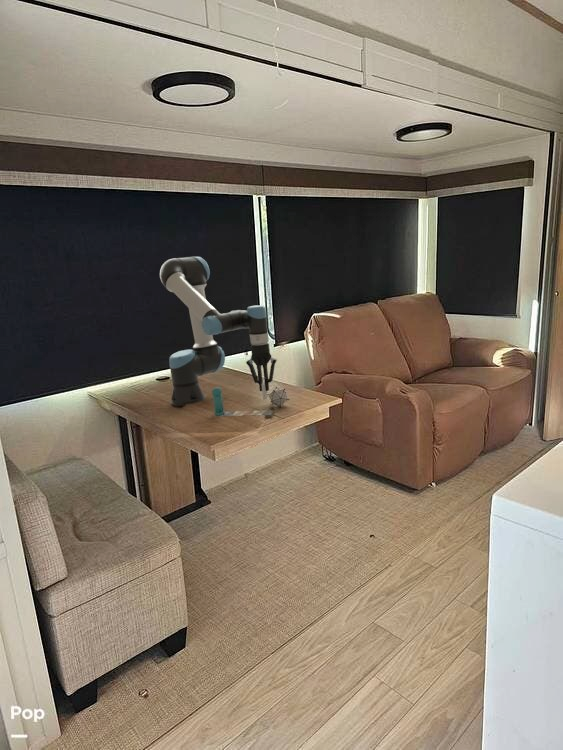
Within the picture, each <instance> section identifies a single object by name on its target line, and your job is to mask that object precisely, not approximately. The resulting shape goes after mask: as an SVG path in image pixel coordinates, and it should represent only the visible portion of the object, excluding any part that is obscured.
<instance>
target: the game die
mask: <svg viewBox="0 0 563 750" xmlns="http://www.w3.org/2000/svg"><path fill="white" fill-rule="evenodd" d="M267 396H268V397H269V399H270V403H272V404H271V407H272V406H277V407H279V409H282V406H283V405H284V404H285V403H286V402H287V401H290V399H289V398H288V396H287V392H286V388H283V389H282V388H279V387H277V386H275V389H273V390H272V392H271V393H269V394H268V393H267Z"/></svg>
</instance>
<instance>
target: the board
mask: <svg viewBox="0 0 563 750" xmlns="http://www.w3.org/2000/svg"><path fill="white" fill-rule="evenodd" d="M274 413H275V411H274V409H268V410H265V409H264V410H238V411H235V410H234V411H225V414H224V415H221V416H215V414H214V415H213V417H217V418H218V417H240V416H243V417H244V416H249V417H250V416H265V417H264V419H272V417H273V416H274ZM272 415H273V416H272Z"/></svg>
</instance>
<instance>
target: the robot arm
mask: <svg viewBox="0 0 563 750" xmlns="http://www.w3.org/2000/svg"><path fill="white" fill-rule="evenodd" d="M209 267H210V266H209V265H208V262H207V261H206V260H205V259H204V258H202V257H201V256H186V257H177V258H175V257H174V258H170V259H167V260H166V261H164V263H163V264H162V265H161V267H160V270H159V278H160V281H161V283H162V285H163V286H164V288H165V289H166V290H167V291H169V292H171V293H173V294H174V295H176V296H177V298H178V299H180V301H181V303H183V304H184V305H185V306H186V307H187V308H188V311H189V319H190V323H191V327H192V334H193V338H194V344H193V346H192V349H184V350H178V351H177V352H174V353H173V354H171V355H170V356H169V358H168V359H169V365H168V366H169V369H170V375H171V376H170V377H171V380H172V381H171V382H172V392H171V399H170V402H171V405H172V404H173V405H175V406H174V407H178V406H184V407H185V406H186V405H188V404H194V403H197V402H198V403H199V402H200V401H201V402H202V401H205V399H206V398H205V395H204V392H203V390H202V388H201V385H200V384H199V377H202V376H205V375H207V374H213V373H215V372H216V373H217V372H218V371H220V370H221V369H223V367H224V365H225V361H226V355H225V351H224V350H223V348H222V347H221V346H219V345H218V342H217V341H216V340H214V336H215V335H220V334H223V333H227V332H232V331H236V330H237V331H238V330H242V329H247V330H249V340H250V341H249V342H250V344H251V345H250V352H251V356H250V359H248V360H246V361H245V364H246V365H247V366H248V368H249V371H250V372H251V376H252V380H253V382H254V383H255V384H258V385H259V392H262V393H261V394H262V400H267V399H268V395H267V394H268V391H269V390H270V383H272V382H273V380H274V371H275V367H276V366H275V365H276V363H277V361H278V359H277V358H273V356H272V355H271V352H270V343H269V340H270V339H269V331H268V321H267V316H268V315H267V312H266V311H267V310H266V307H265V305H262V304H261V305H260V304H259V305H251V306H248V307H247V309H246V310H243V309H242V310H241V309H235V310H234V309H233V310H231V311H230V312H225V313H220V312H219V311H218V310H217V309H216V308H215V307H214V306H213V305H212V304H210V302H209V301H208V300H207V298H206V293H205V292H206V291H205V288H206V286H207V285H208V284H207V281H208V280H209V278H210V275H211V271H210V268H209ZM269 362H270V363H271V364H270V368H269V369H270V371H268V364H269ZM254 364H255V366H256V369H255V366H254ZM262 369H263V371H262ZM256 370H257V373H256ZM263 379H264V380H263ZM173 405H172V406H173Z"/></svg>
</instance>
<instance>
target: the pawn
mask: <svg viewBox="0 0 563 750" xmlns="http://www.w3.org/2000/svg"><path fill="white" fill-rule="evenodd" d="M222 393H223V391H222V388H221V387H219V386H216V387H213V389H212V390H211V394H212V398H213V400H212V401H213V407H214V412H213V413H214V415H215V416H219V417H222V416H221V415H224V414H225V412H226V411H225V409H224V402H223V395H222Z"/></svg>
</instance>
